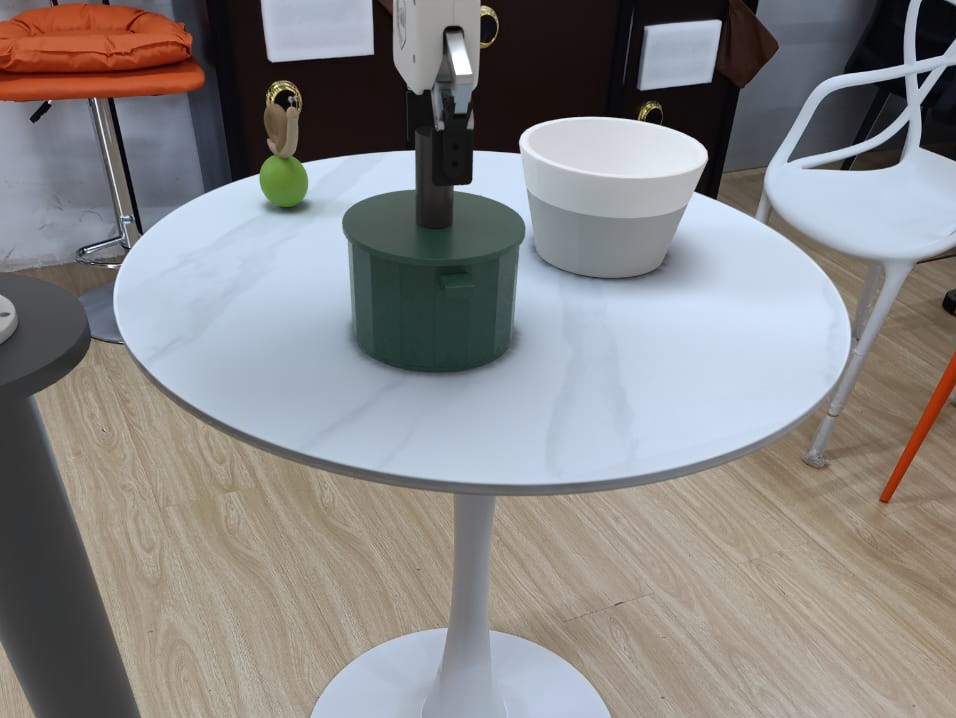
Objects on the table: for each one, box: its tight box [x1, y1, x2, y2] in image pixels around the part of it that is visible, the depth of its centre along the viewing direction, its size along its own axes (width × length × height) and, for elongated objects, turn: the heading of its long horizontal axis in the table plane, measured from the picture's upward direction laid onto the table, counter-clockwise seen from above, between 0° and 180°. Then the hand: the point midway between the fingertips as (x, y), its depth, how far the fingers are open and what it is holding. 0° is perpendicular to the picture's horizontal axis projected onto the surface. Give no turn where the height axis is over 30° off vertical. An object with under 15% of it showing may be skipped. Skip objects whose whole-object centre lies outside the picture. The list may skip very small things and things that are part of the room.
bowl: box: [518, 116, 709, 279], centre depth 97 cm, size 19×19×11 cm
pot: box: [347, 240, 520, 373], centre depth 82 cm, size 15×20×10 cm
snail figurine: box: [258, 94, 309, 208], centre depth 101 cm, size 5×6×12 cm
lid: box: [341, 125, 527, 267], centre depth 76 cm, size 16×16×8 cm
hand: (438, 163), depth 75 cm, fingers open, 9 cm apart
